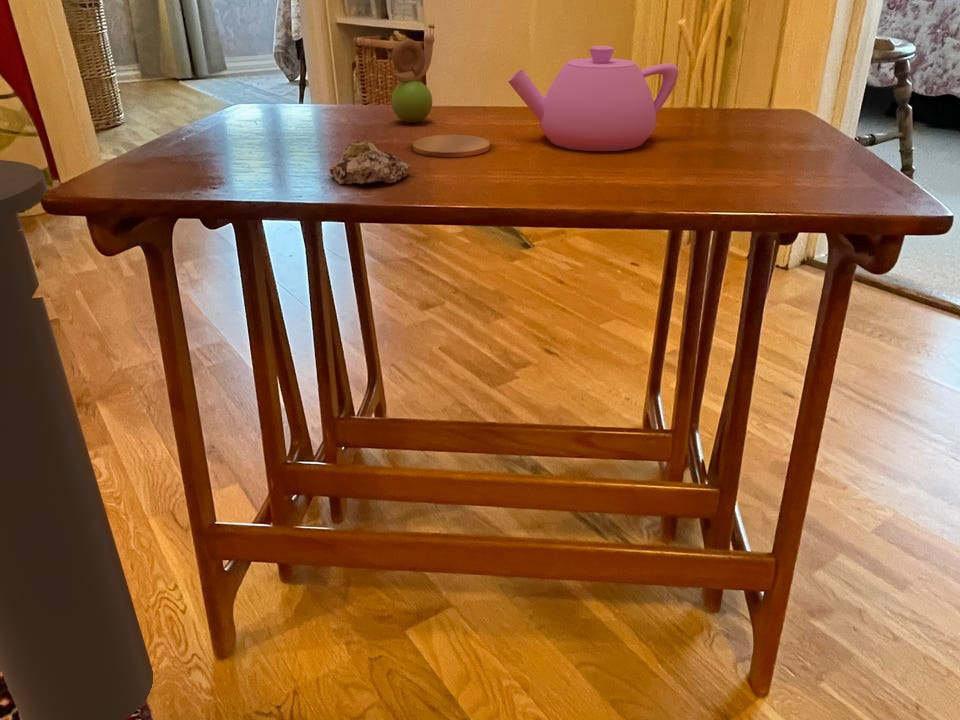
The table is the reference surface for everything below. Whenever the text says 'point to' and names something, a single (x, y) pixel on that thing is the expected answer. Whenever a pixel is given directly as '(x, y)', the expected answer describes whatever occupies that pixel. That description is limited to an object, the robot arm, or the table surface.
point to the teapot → (598, 102)
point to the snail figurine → (412, 79)
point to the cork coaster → (451, 146)
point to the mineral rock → (368, 165)
